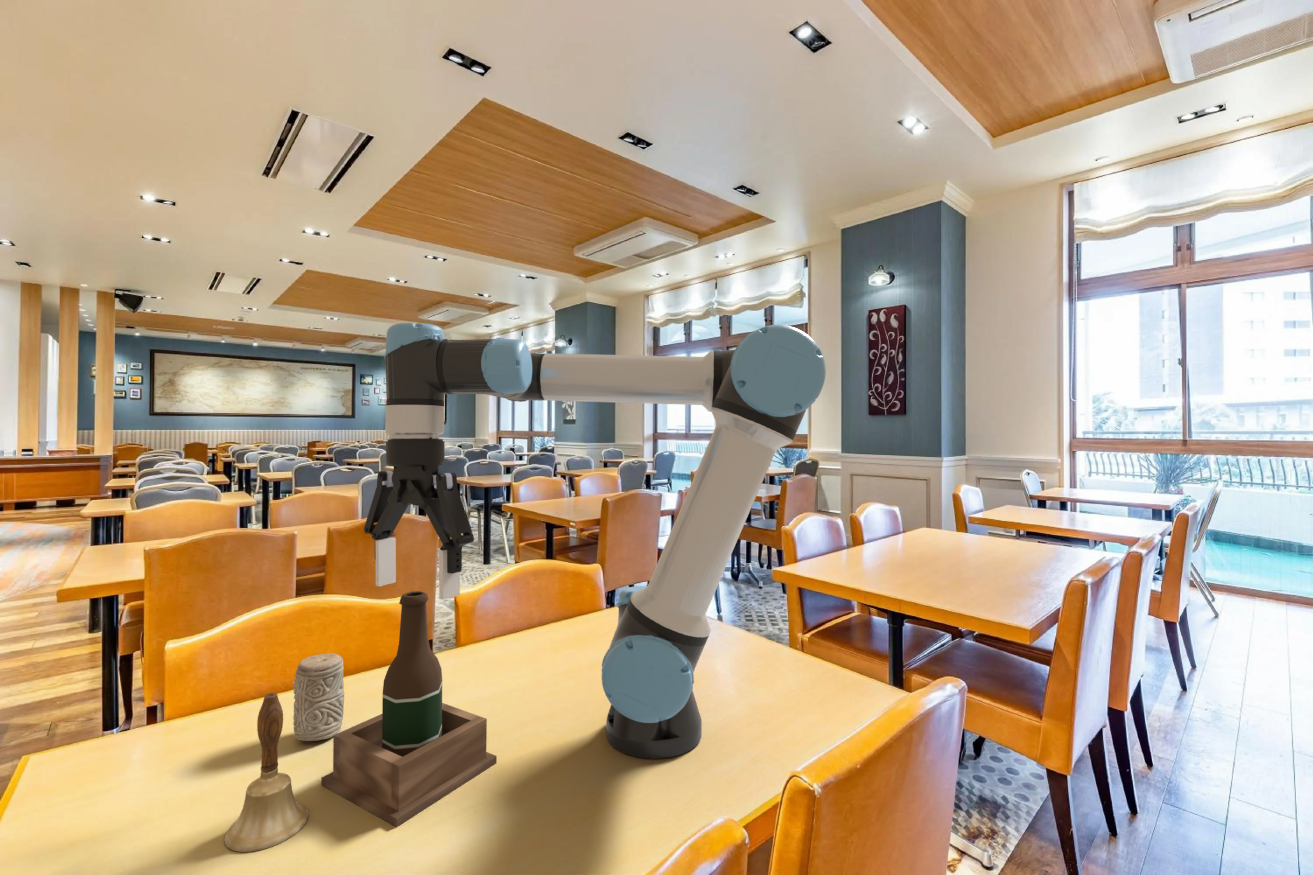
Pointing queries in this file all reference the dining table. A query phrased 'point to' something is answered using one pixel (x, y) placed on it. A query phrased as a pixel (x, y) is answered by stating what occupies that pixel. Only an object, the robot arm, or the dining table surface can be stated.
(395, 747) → the beer bottle
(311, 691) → the carving
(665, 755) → the robot arm
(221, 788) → the dining table surface
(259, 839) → the hand bell
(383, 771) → the box
